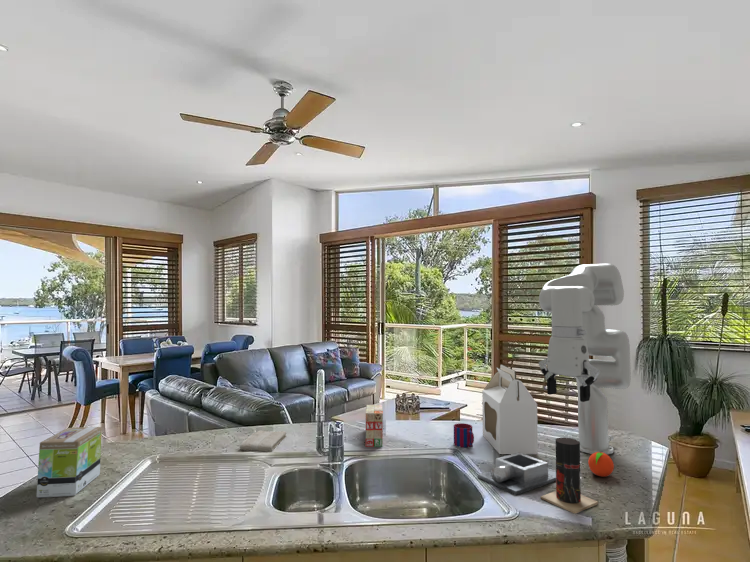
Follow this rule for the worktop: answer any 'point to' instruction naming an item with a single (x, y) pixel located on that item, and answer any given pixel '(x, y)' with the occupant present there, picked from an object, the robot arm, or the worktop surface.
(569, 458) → the deodorant
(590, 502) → the coaster
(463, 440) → the mug
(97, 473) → the tea box
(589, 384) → the robot arm
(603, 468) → the clementine
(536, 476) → the grey square holder
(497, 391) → the gable box
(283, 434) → the washcloth
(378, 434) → the stack of blocks
